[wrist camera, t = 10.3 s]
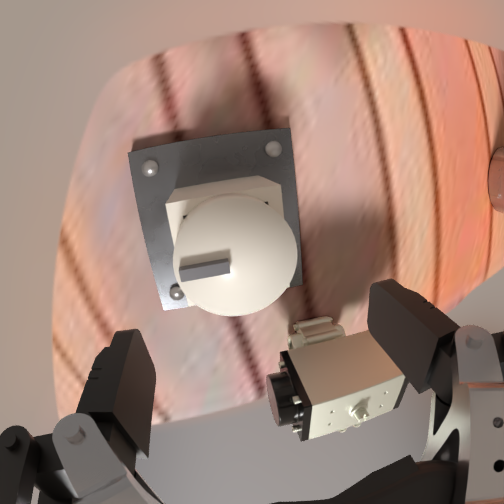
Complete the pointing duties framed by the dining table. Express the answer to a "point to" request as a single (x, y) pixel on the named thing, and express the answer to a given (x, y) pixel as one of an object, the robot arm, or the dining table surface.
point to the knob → (231, 244)
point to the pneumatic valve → (332, 380)
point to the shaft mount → (200, 172)
